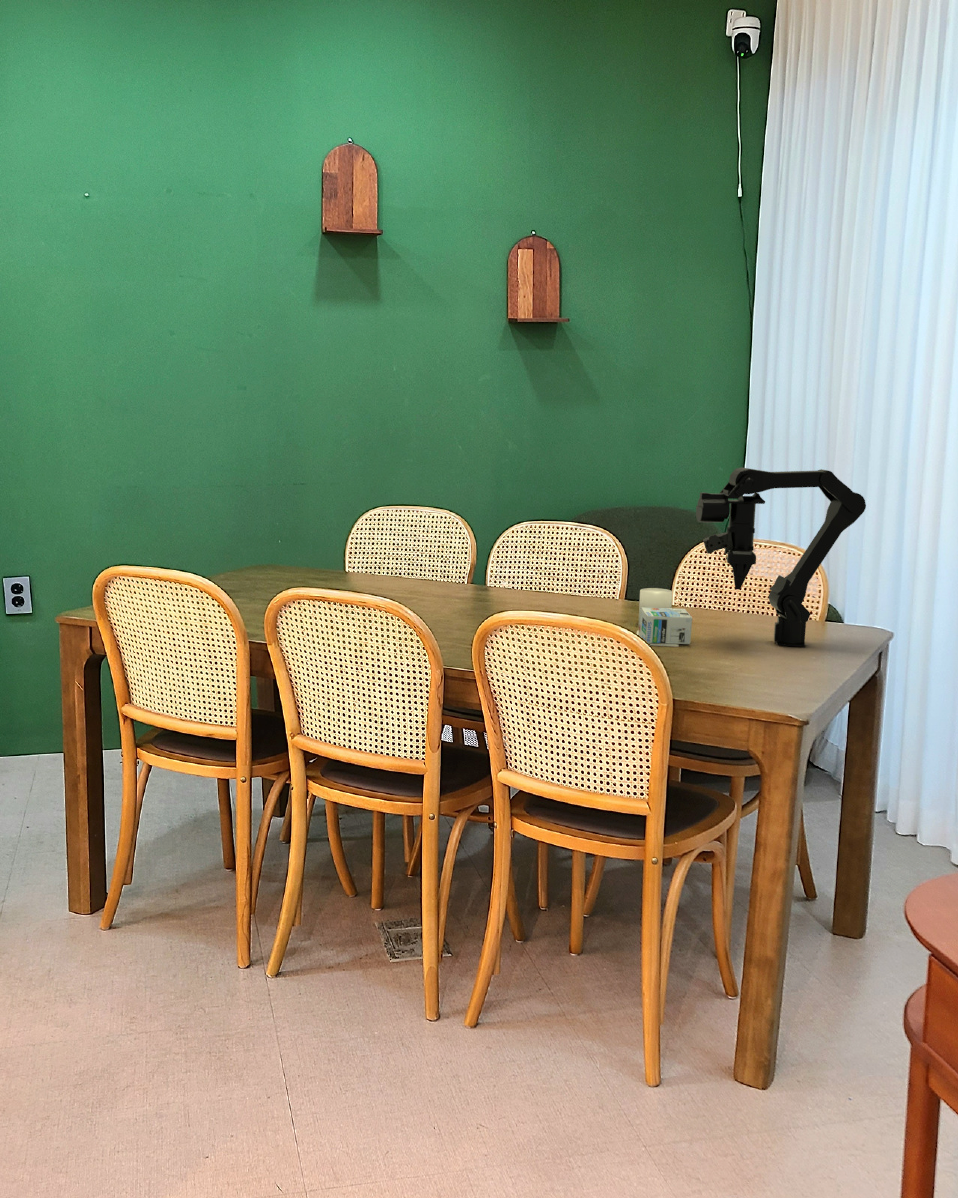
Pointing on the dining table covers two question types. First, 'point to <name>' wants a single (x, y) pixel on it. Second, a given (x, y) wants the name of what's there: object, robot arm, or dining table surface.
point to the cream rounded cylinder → (655, 598)
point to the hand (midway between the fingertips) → (737, 589)
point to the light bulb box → (665, 625)
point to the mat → (660, 643)
